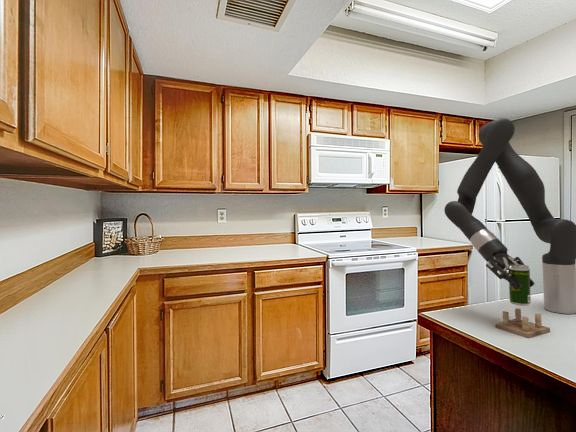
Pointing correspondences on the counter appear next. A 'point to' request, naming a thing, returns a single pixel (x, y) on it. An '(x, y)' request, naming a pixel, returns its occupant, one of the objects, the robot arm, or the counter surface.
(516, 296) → the beer can
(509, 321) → the dowel holder
